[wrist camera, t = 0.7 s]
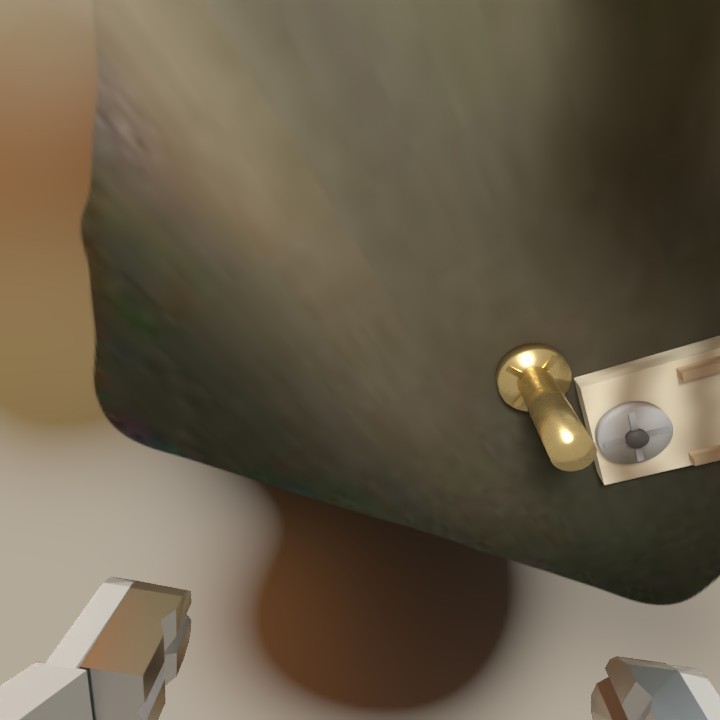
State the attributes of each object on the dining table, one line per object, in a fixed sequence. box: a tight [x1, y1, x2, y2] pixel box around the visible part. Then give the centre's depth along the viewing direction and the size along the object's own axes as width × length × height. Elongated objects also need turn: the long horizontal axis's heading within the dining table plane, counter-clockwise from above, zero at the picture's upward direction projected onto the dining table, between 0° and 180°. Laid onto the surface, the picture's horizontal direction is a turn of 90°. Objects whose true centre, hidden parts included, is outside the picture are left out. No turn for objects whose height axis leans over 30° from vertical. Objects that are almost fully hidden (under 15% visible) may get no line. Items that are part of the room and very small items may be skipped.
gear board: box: [574, 336, 720, 485], centre depth 43 cm, size 22×13×4 cm, turn 113°
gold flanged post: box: [495, 343, 597, 471], centre depth 40 cm, size 7×7×13 cm
